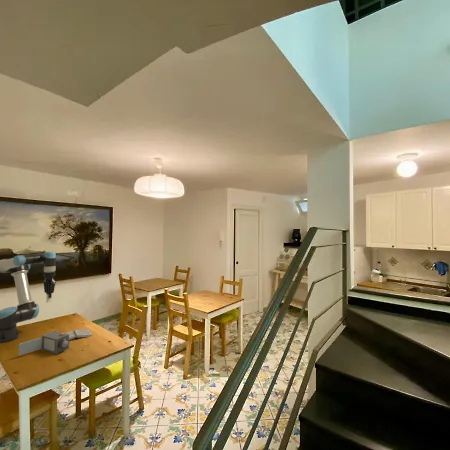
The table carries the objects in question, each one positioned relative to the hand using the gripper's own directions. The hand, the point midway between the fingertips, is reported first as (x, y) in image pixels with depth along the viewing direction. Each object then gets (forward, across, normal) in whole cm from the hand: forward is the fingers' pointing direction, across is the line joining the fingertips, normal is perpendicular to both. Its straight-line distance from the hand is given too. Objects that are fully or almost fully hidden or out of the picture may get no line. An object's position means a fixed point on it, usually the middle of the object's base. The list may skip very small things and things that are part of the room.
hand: (48, 302), depth 192 cm
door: (+28, +12, -18) cm, 35 cm away
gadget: (+30, +12, +13) cm, 35 cm away
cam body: (+29, +21, -7) cm, 37 cm away
